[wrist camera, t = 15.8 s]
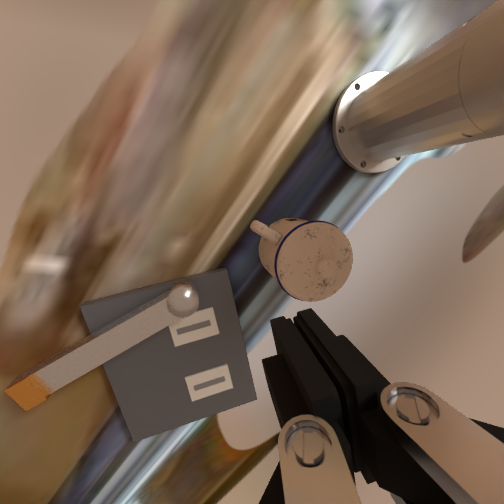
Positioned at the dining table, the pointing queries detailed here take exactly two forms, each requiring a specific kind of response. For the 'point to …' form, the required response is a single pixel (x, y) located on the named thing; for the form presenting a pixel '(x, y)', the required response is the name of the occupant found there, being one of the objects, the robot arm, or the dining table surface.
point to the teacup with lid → (305, 256)
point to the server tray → (178, 358)
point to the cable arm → (103, 345)
